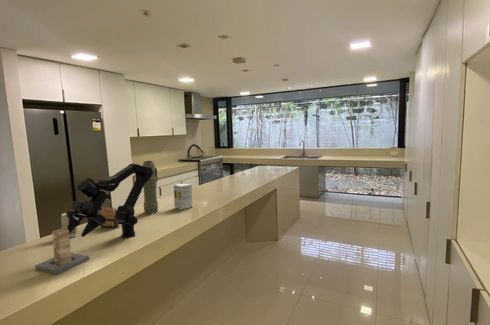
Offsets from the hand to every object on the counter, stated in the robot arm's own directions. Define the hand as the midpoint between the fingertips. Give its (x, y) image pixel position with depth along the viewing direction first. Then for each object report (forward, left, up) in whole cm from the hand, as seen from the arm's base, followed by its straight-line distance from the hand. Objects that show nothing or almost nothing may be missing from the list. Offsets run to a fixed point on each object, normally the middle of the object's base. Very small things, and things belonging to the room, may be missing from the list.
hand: (74, 235), depth 113 cm
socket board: (+4, -4, -10) cm, 12 cm away
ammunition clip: (-39, +10, -10) cm, 42 cm away
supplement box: (-63, +56, -10) cm, 85 cm away
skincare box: (-32, -8, -10) cm, 35 cm away
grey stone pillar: (-61, +34, -10) cm, 71 cm away
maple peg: (+4, -4, -10) cm, 12 cm away
